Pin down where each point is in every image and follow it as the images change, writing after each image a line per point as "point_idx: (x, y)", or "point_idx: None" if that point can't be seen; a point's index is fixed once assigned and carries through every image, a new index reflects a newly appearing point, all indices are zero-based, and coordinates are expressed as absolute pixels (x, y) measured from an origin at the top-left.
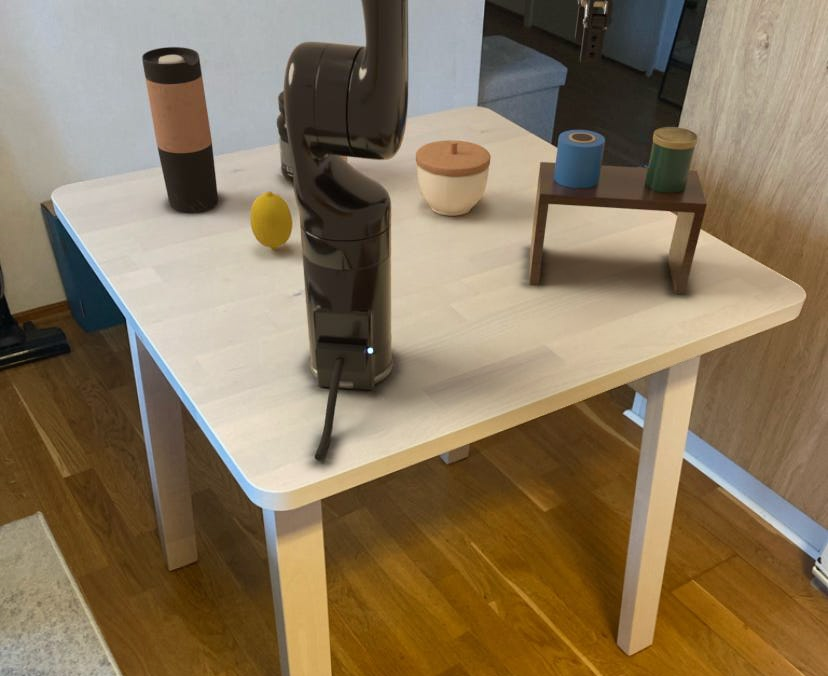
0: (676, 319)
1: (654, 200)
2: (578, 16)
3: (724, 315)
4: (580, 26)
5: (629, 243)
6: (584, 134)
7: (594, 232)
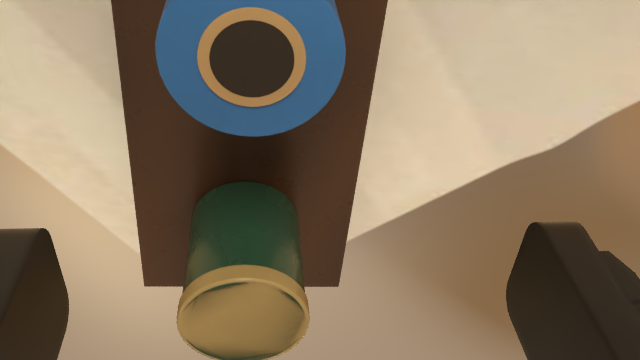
0: (67, 126)
1: (136, 191)
2: (611, 348)
3: (108, 200)
4: (570, 306)
5: (388, 77)
6: (282, 71)
7: (448, 7)
